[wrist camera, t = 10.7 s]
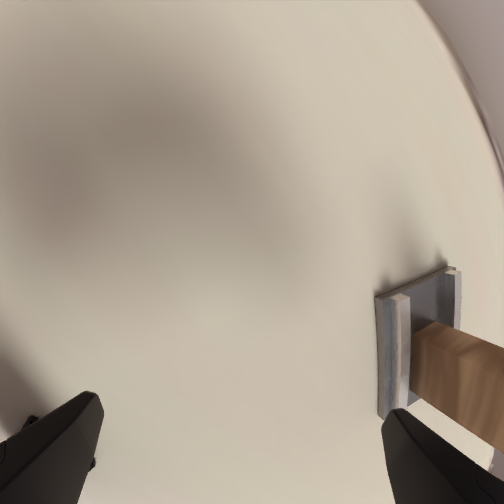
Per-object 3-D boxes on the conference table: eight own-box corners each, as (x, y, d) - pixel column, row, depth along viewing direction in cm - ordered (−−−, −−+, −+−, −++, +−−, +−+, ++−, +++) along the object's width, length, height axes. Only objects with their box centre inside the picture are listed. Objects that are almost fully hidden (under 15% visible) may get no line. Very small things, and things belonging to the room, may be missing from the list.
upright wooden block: (410, 390, 22) (503, 453, 10) (412, 334, 21) (529, 390, 9) (436, 373, 23) (528, 424, 11) (439, 318, 22) (550, 361, 10)
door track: (443, 374, 24) (457, 382, 22) (377, 414, 22) (390, 426, 20) (447, 265, 23) (465, 269, 20) (374, 297, 21) (392, 304, 19)
